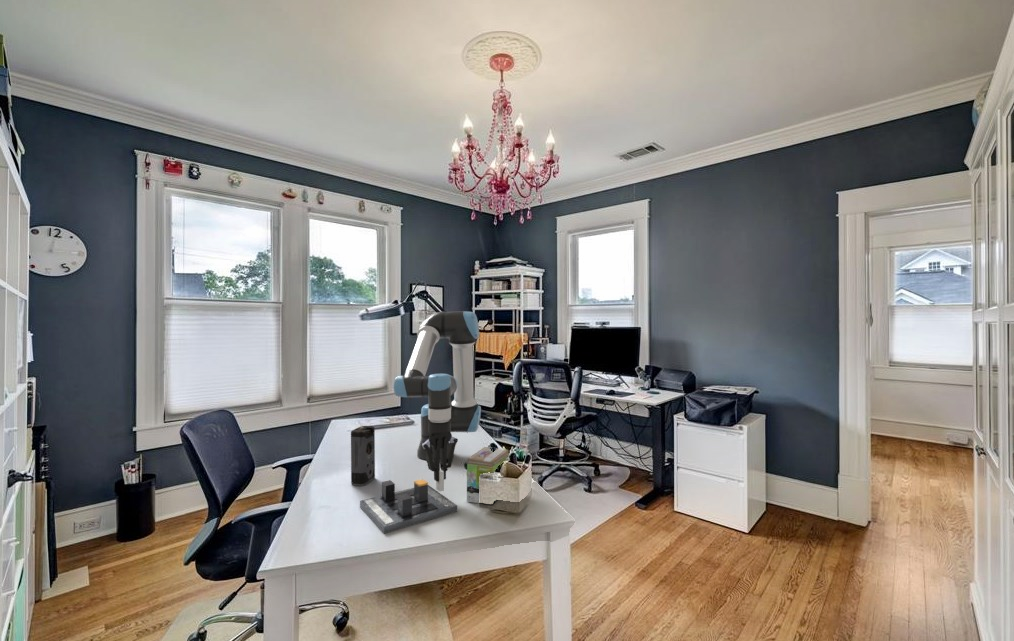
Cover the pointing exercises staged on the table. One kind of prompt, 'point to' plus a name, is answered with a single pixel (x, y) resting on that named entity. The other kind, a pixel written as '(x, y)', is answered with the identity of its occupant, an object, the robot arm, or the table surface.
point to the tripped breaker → (421, 490)
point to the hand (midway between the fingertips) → (440, 489)
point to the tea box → (482, 469)
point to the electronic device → (362, 455)
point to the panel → (409, 519)
